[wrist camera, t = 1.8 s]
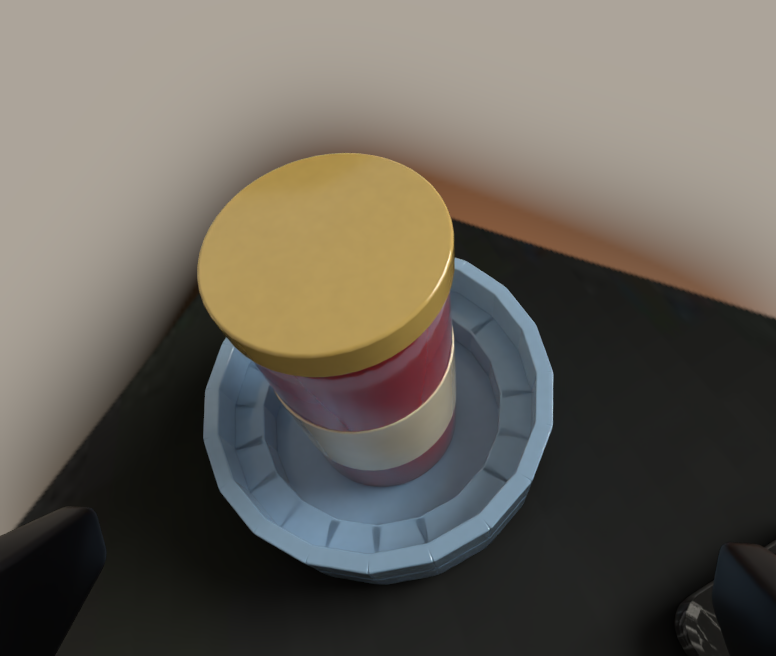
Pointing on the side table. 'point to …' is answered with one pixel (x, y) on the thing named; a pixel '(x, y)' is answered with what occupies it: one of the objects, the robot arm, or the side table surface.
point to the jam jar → (344, 307)
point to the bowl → (405, 501)
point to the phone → (702, 622)
